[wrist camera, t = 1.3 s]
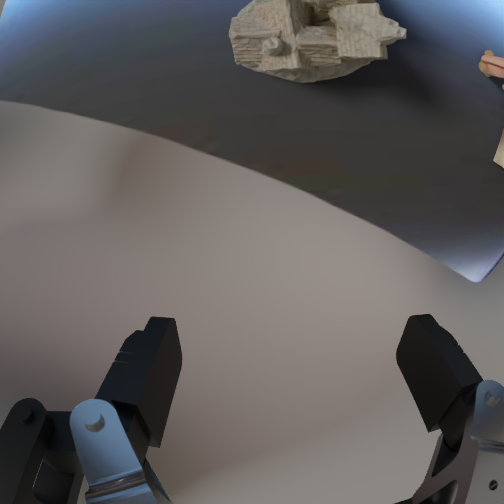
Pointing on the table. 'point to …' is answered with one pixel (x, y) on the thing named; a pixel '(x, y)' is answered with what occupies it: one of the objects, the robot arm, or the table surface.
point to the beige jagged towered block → (311, 37)
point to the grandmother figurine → (492, 65)
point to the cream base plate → (500, 152)
